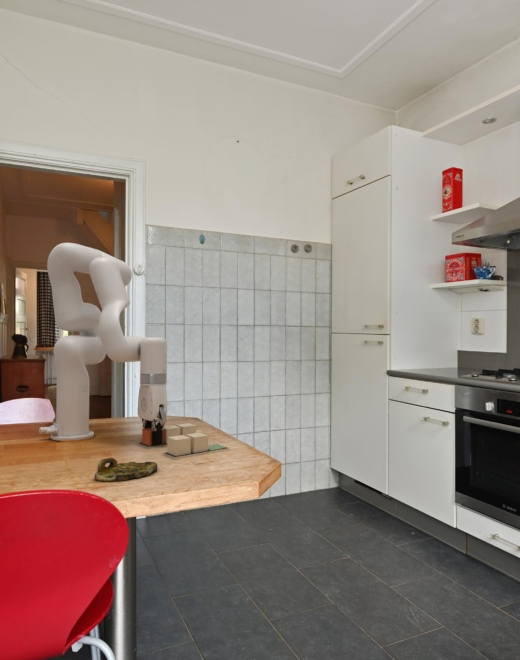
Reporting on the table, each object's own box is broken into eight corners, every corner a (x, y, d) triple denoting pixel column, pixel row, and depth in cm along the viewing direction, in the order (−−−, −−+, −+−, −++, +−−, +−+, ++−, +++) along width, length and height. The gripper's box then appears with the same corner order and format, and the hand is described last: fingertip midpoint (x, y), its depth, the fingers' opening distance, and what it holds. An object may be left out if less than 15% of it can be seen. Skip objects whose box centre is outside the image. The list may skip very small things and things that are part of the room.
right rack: (174, 458, 123) (174, 440, 123) (163, 454, 127) (163, 436, 128) (228, 449, 134) (228, 432, 134) (216, 445, 138) (216, 429, 138)
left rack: (147, 448, 134) (148, 431, 134) (138, 444, 139) (138, 428, 139) (199, 440, 145) (199, 425, 145) (189, 437, 150) (189, 422, 150)
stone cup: (45, 423, 172) (46, 381, 173) (80, 420, 178) (80, 380, 179) (49, 430, 159) (50, 385, 159) (87, 427, 165) (87, 383, 165)
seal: (145, 468, 117) (86, 480, 106) (144, 449, 117) (85, 458, 107) (167, 472, 110) (106, 484, 100) (166, 451, 111) (105, 461, 100)
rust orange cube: (149, 446, 135) (149, 431, 135) (141, 443, 139) (142, 428, 139) (163, 443, 138) (163, 429, 138) (156, 441, 142) (156, 427, 142)
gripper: (128, 378, 143) (128, 439, 143) (155, 382, 130) (154, 450, 130) (151, 377, 148) (151, 436, 147) (179, 381, 135) (178, 446, 134)
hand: (152, 442), depth 139 cm, fingers closed on rust orange cube, 4 cm apart
